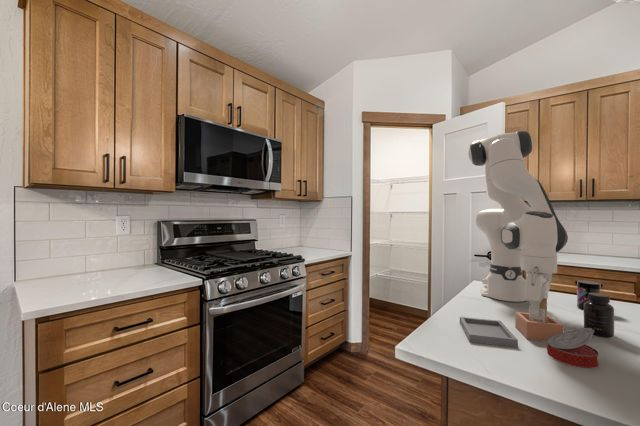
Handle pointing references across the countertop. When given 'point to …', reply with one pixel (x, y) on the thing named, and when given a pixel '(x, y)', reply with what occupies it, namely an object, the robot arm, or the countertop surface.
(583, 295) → the supplement container
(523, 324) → the terracotta holder
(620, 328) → the countertop surface
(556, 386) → the countertop surface
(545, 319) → the sprinkles bottle
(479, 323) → the charcoal tray
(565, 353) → the canned food
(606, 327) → the supplement bottle
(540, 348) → the countertop surface
